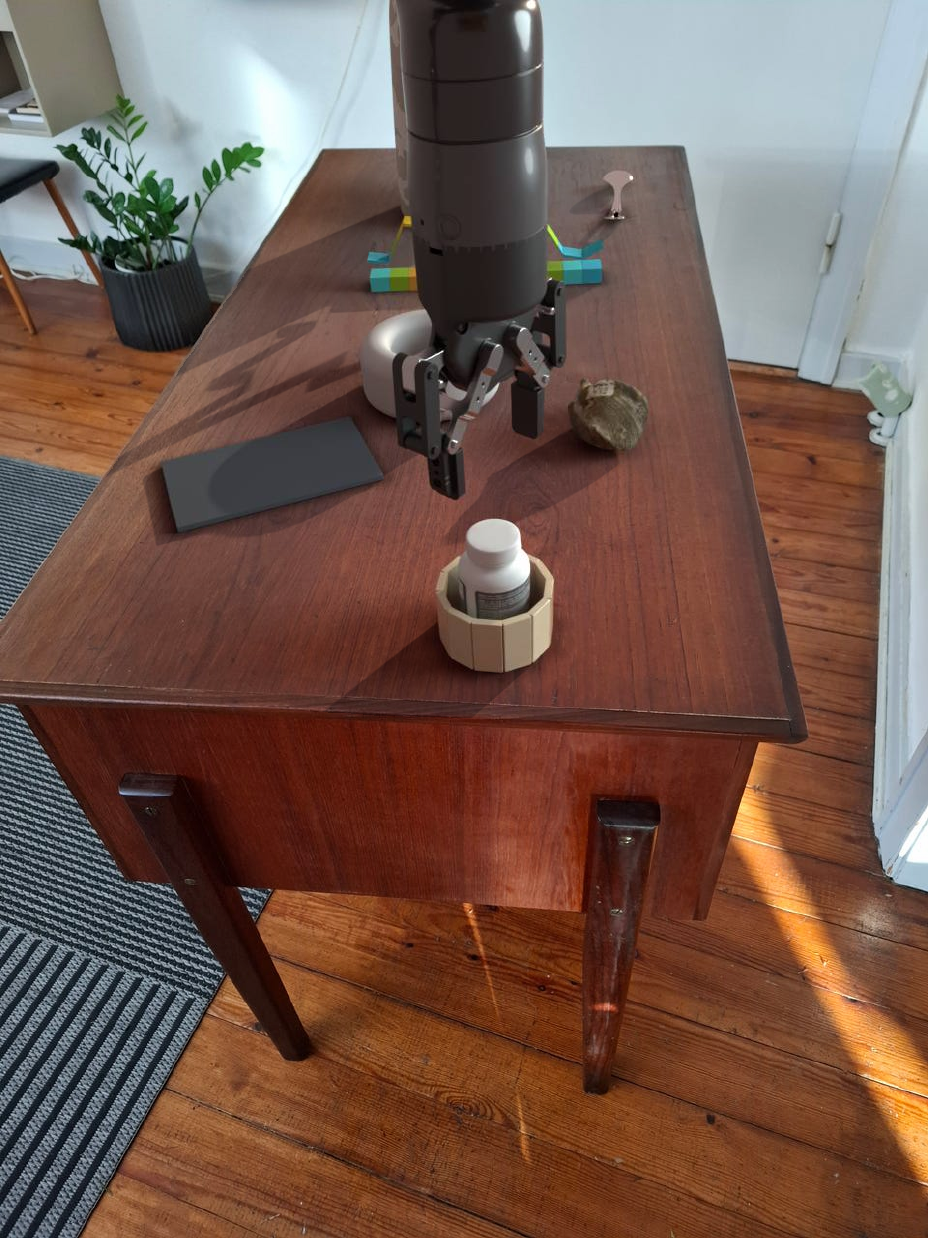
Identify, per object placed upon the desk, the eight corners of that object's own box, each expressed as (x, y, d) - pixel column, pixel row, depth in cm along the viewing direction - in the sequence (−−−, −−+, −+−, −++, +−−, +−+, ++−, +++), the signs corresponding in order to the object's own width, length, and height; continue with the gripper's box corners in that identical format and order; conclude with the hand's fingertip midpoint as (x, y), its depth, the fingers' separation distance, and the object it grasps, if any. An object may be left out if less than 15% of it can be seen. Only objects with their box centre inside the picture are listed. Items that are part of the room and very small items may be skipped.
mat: (178, 533, 83) (176, 527, 82) (162, 466, 91) (160, 461, 90) (383, 479, 87) (383, 474, 87) (350, 420, 95) (350, 415, 95)
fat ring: (438, 345, 107) (434, 291, 102) (528, 388, 98) (528, 331, 94) (338, 393, 100) (328, 337, 95) (425, 443, 91) (419, 384, 87)
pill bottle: (543, 625, 71) (544, 528, 64) (504, 665, 68) (501, 568, 61) (488, 599, 74) (484, 503, 67) (449, 637, 71) (440, 541, 64)
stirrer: (633, 202, 126) (600, 202, 127) (631, 228, 128) (598, 228, 129) (634, 165, 141) (604, 165, 142) (632, 189, 143) (602, 189, 144)
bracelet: (464, 685, 67) (460, 638, 63) (426, 612, 73) (420, 565, 70) (570, 651, 69) (572, 604, 65) (524, 582, 75) (524, 536, 72)
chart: (599, 272, 119) (605, 151, 109) (601, 282, 117) (608, 159, 107) (373, 282, 121) (359, 163, 111) (371, 292, 119) (356, 171, 108)
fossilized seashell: (571, 381, 94) (547, 446, 88) (604, 339, 88) (582, 404, 83) (630, 418, 95) (611, 483, 90) (667, 378, 90) (648, 445, 84)
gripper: (503, 165, 54) (509, 401, 66) (338, 244, 47) (377, 496, 58) (608, 186, 51) (595, 432, 62) (448, 275, 43) (466, 537, 54)
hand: (489, 463), depth 60 cm, fingers open, 8 cm apart
